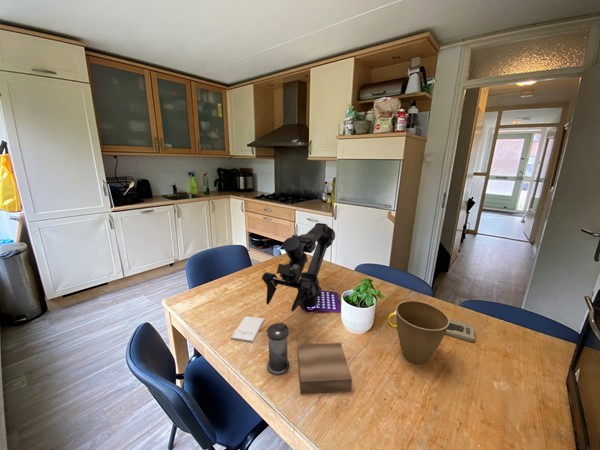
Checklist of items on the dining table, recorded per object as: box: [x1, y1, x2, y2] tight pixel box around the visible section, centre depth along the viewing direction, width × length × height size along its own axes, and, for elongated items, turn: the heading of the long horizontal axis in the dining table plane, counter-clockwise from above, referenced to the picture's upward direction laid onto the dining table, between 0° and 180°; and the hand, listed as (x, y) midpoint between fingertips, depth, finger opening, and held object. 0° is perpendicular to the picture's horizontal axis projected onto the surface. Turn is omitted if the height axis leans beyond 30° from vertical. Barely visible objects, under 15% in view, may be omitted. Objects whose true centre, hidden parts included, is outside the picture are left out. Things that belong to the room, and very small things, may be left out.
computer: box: [444, 318, 475, 343], centre depth 95 cm, size 16×8×3 cm, turn 61°
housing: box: [266, 322, 290, 376], centre depth 76 cm, size 7×7×13 cm
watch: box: [387, 310, 397, 328], centre depth 96 cm, size 6×3×6 cm, turn 69°
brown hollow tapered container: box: [395, 300, 450, 366], centre depth 80 cm, size 15×15×16 cm
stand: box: [297, 342, 353, 395], centre depth 76 cm, size 14×14×4 cm
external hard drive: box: [230, 315, 265, 344], centre depth 94 cm, size 2×8×12 cm
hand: (279, 307), depth 82 cm, fingers open, 9 cm apart
